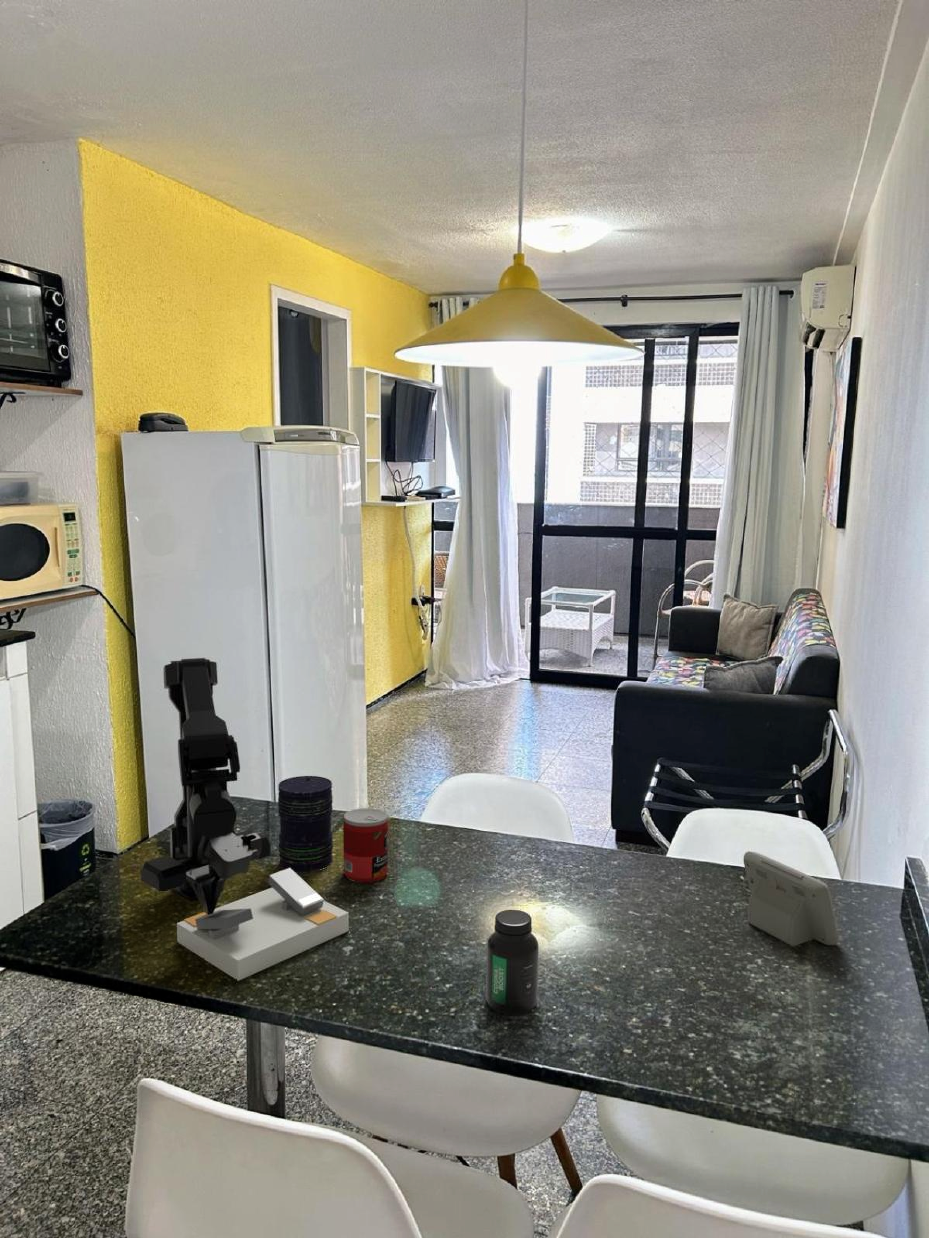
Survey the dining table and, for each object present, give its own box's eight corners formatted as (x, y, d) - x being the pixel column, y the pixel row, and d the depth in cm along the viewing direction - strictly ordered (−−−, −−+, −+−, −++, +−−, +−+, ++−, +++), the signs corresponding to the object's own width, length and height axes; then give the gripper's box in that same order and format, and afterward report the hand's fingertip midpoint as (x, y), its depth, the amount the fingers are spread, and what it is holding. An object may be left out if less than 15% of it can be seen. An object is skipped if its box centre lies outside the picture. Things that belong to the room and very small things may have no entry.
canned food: (381, 885, 155) (381, 824, 154) (337, 880, 157) (336, 820, 156) (393, 867, 163) (393, 809, 161) (351, 863, 164) (351, 806, 163)
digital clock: (844, 949, 135) (849, 882, 134) (795, 958, 132) (799, 889, 131) (776, 903, 150) (779, 842, 149) (730, 910, 148) (733, 848, 146)
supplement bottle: (499, 1021, 115) (501, 933, 114) (477, 994, 121) (479, 910, 120) (546, 1009, 118) (548, 923, 116) (522, 984, 124) (524, 902, 123)
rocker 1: (197, 929, 132) (195, 918, 133) (220, 920, 135) (218, 909, 136) (229, 928, 126) (226, 916, 127) (253, 918, 129) (250, 907, 130)
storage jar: (328, 873, 160) (327, 793, 158) (273, 872, 160) (272, 792, 158) (336, 851, 170) (336, 775, 168) (285, 851, 170) (284, 775, 168)
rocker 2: (267, 882, 142) (269, 874, 141) (288, 875, 145) (290, 867, 144) (301, 915, 137) (303, 907, 136) (322, 907, 140) (324, 898, 139)
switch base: (177, 941, 135) (176, 915, 134) (285, 899, 149) (285, 875, 149) (238, 980, 124) (237, 952, 124) (348, 930, 139) (348, 905, 138)
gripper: (178, 845, 119) (181, 955, 121) (292, 811, 133) (293, 910, 135) (137, 823, 127) (140, 927, 129) (249, 793, 140) (250, 887, 142)
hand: (209, 913), depth 134 cm, fingers closed, pressing on rocker 1
